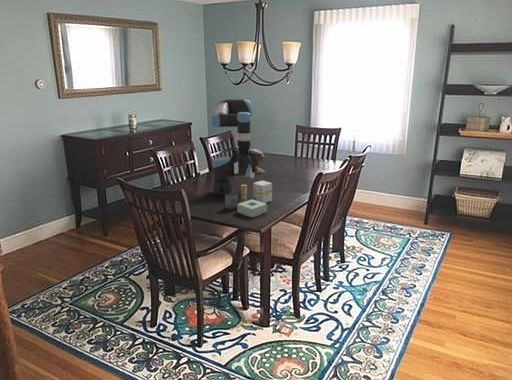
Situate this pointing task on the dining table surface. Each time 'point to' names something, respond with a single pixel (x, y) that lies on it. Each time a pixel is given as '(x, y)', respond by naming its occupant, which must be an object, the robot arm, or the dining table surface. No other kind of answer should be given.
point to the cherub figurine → (259, 158)
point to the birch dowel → (243, 193)
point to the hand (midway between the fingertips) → (244, 175)
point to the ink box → (262, 191)
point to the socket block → (252, 208)
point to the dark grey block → (231, 201)
